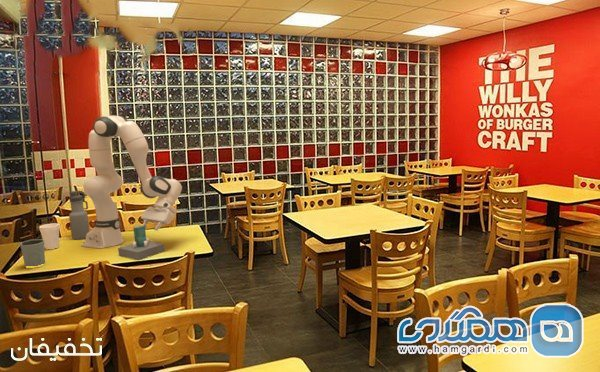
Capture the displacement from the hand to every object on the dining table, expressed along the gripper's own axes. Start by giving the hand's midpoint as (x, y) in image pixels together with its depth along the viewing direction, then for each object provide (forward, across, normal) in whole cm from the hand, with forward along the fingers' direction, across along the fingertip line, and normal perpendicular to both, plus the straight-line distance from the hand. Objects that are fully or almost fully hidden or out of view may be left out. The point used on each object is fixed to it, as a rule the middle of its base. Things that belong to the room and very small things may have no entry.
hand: (149, 228), depth 236 cm
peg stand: (+12, 0, +4) cm, 13 cm away
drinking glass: (+39, -32, -22) cm, 55 cm away
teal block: (+10, 0, +1) cm, 10 cm away
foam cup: (+25, -54, -9) cm, 60 cm away
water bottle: (+10, -60, +6) cm, 62 cm away
